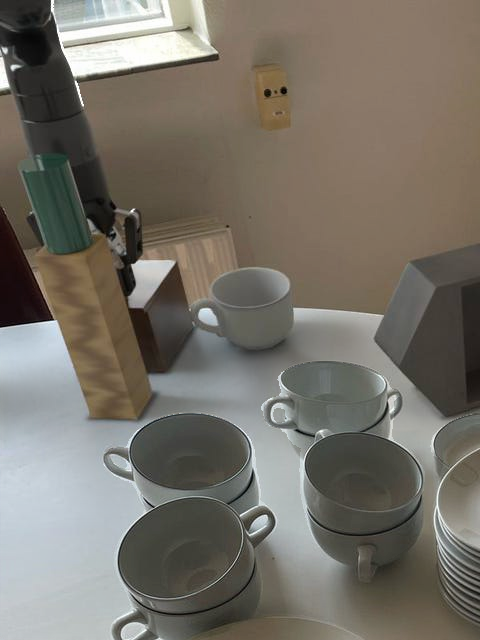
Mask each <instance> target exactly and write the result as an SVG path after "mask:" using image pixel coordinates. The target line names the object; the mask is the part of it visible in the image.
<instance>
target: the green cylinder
mask: <svg viewBox="0 0 480 640" xmlns="http://www.w3.org/2000/svg"><path fill="white" fill-rule="evenodd" d="M17 166H18V167H17V168H18V170H19V174H20V176H21V179H22V183H23V186H24V188H25V191H26V194H27V197H28V199H29V203H30V205H31V208H32V211H34V214H35V217H36V220H37V223H38V226H39V229H40V232H41V235H42V238H43V240H44V243H45V246H46V249H47V250H48V251H49V252H50V253H53V254H60V255H65V254H73V253H77V252H80V251H83V250H85V249H87V248H89V247H90V246H91V245H92V244H93V241H94V240H93V237H92V233H91V230H90V227H89V224H88V221H87V217H86V214H85V211H84V208H83V204H82V201H81V198H80V195H79V191H78V188H77V185H76V182H75V178H74V175H73V172H72V169H71V165H70V162H69V159H68V157H67V156H65V155H63V154H57V153H47V154H39V155H35V156H31V157H30V156H28V157H27V158H24V159H22V160H21V161H19V163H18V165H17Z"/></svg>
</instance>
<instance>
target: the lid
mask: <svg viewBox="0 0 480 640" xmlns="http://www.w3.org/2000/svg"><path fill="white" fill-rule="evenodd" d="M131 266H132V269H133V273H134V276H135V280H136V287H135V288H134V291H133V292H132V294H131V295H130V296H124V299H125V302H126V305H127V309H128V312H129V314H145V313H146V311H147V310H148V309H149V307H150V306H151V304H152V303H153V302H154V300H155V299H156V297H157V296H158V294H159V293H160V292H161V290H162V289H163V287H164V286H165V285H166V283H167V282H168V280H169V279H170V278H171V276H172V275H173V273H174V272H175V270H176V269H177V268H178V267H179V262H178V260H161V259H160V260H159V259H158V260H157V259H155V260H154V259H138V261H137V262H136V263H135V264H131ZM115 268H116V266H115Z"/></svg>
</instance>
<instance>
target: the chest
mask: <svg viewBox="0 0 480 640" xmlns="http://www.w3.org/2000/svg"><path fill="white" fill-rule="evenodd" d="M129 315H130V319H131V322H132V325H133V329H134V332H135V335H136V339H137V342H138V346H139V349H140V352H141V356H142V359H143V362H144V366H145V369H146V372H147V373H161V374H163V373H166V371H167V370H168V369H169V367H170V365H171V363H172V362H173V360H174V358H175V357H176V355H177V354H178V352H179V350H180V349H181V347H182V346H183V344H184V343H185V341H186V339H187V338H188V336H189V335H190V333H191V331H192V330H193V328H194V326H195V325H194V323H193V321H192V319H191V317H190V306H189V302H188V298H187V294H186V291H185V285H184V281H183V278H182V275H181V270H180V267H179V266H178V268H177V269H176V270H175V272H174V273H173V275H172V276H171V278H170V279H169V280H168V282H167V283H166V285H165V286H164V287H163V289H162V290H161V292H160V293H159V294H158V296H157V297H156V299H155V300H154V302H153V303H152V304H151V306H150V307H149V309H148V310H147V311H146V313H145V314H129Z"/></svg>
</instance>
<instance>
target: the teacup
mask: <svg viewBox="0 0 480 640" xmlns="http://www.w3.org/2000/svg"><path fill="white" fill-rule="evenodd" d="M209 287H210V288H209V293H210V297H211V299H210V298H199V299H197V300H195V301H194V302H193V303H192V304H191V306H190V308H189V310H190V317H191V319H192V322H193V325H194V326H196V327H197V328H199V329H200V330H202V331H203V332H204V331H205V332H206V333H210V334H215V335H216V336H217V337H218V338H220V339H224V338H225V339H226V340H227V341H229V343H230V342H231V343H232V344H233V345H236V346H237V347H239V348H242V349H245V350H249V351H250V350H251V351H262V350H267V349H270V348H273V347H275V346H277V345H279V344H280V343H281V342H282V341H283V340H284V339H285V338H286V337H287V336H289V334H290V333H291V332H292V329H293V326H294V321H295V319H294V318H295V314H294V313H295V312H294V311H295V310H294V303H293V295H292V291H291V290H292V283H291V280H290V278H289V277H288V276H287V275H285V274H284V273H283V272H281V271H279V270H276V269H272V268H268V267H261V266H260V267H259V266H257V267H256V266H254V267H242V268H238V269H233V270H231V271H228V272H224V273H223V274H221V275H219V276H218V277H216V278H215V279H214V280H213V281H212V283H211V284H210V286H209ZM204 308H205V309H206V308H208V309H210V310H211V312H212V314H213V315H214V316H215V319H216V322H217V324H210V323H206V322H204V321H202V320H201V319H200V317H199V313H200V311H201V310H202V309H204Z"/></svg>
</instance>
